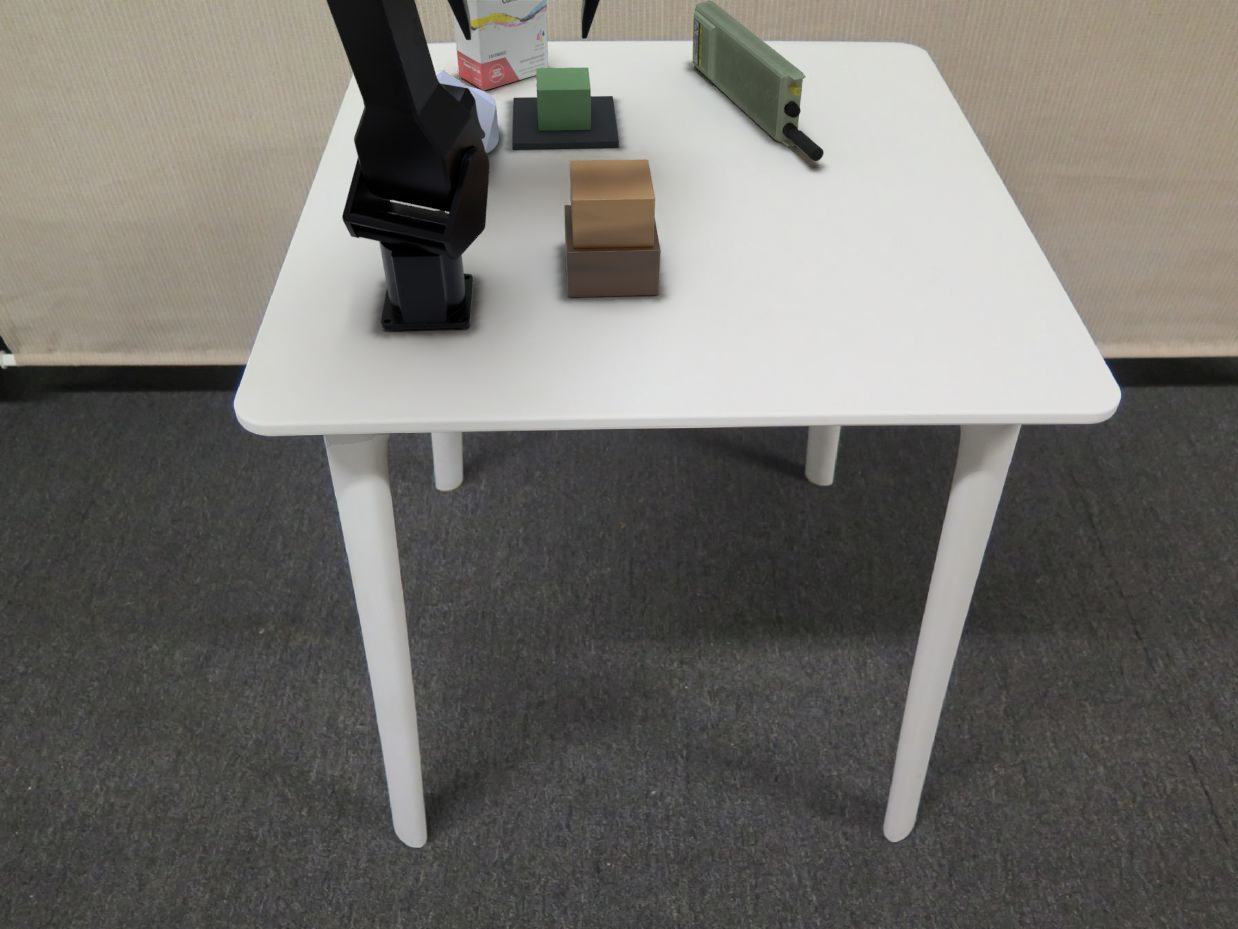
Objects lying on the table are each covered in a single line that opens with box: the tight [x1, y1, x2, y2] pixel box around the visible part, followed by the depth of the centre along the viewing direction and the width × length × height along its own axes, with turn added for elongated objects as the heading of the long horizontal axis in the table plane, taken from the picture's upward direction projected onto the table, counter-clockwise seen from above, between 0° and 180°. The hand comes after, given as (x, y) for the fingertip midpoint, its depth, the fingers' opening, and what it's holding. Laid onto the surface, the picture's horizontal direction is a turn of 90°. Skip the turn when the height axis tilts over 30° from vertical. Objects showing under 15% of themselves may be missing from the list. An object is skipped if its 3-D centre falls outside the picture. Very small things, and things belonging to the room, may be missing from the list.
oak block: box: [569, 158, 656, 248], centre depth 76 cm, size 6×6×4 cm
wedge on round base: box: [436, 69, 500, 154], centre depth 92 cm, size 9×7×13 cm
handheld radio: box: [692, 0, 825, 162], centre depth 99 cm, size 7×3×25 cm
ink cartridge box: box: [452, 0, 549, 91], centre depth 102 cm, size 9×5×15 cm, turn 130°
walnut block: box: [563, 204, 661, 298], centre depth 79 cm, size 7×7×4 cm
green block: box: [535, 66, 592, 131], centre depth 97 cm, size 5×5×4 cm
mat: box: [511, 95, 620, 150], centre depth 99 cm, size 10×10×1 cm
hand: (526, 37), depth 81 cm, fingers open, 9 cm apart
